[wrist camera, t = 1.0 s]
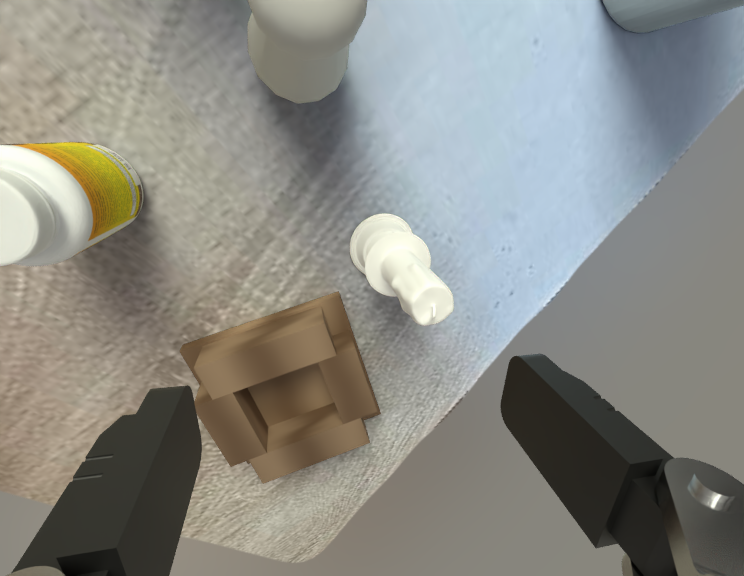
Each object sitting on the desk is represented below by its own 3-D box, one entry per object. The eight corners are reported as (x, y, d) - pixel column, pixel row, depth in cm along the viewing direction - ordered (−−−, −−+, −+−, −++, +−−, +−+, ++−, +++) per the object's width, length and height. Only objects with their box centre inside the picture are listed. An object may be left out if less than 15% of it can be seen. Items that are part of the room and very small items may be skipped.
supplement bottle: (91, 122, 22) (-46, 112, 13) (165, 195, 25) (93, 229, 16) (25, 179, 23) (-152, 209, 14) (104, 246, 25) (-1, 309, 16)
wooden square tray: (338, 291, 30) (345, 312, 26) (378, 406, 36) (388, 437, 32) (182, 344, 29) (168, 374, 25) (248, 455, 34) (244, 492, 31)
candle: (394, 286, 31) (452, 367, 20) (338, 262, 29) (368, 337, 18) (425, 230, 30) (504, 283, 19) (368, 201, 28) (419, 243, 17)
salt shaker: (355, 89, 25) (417, 46, 13) (276, 119, 24) (266, 102, 13) (322, -14, 22) (363, -182, 11) (233, 17, 22) (173, -119, 10)
